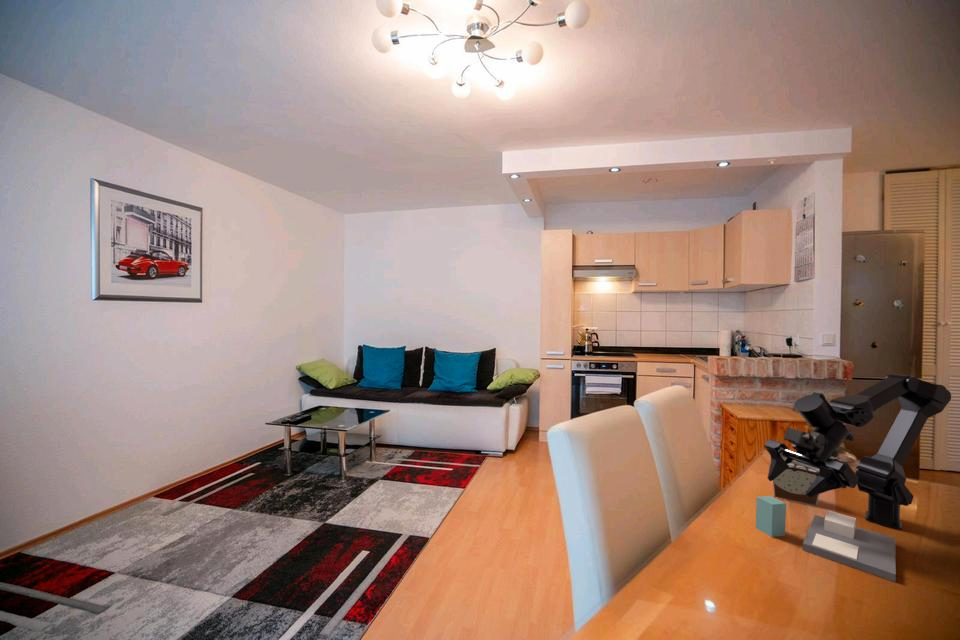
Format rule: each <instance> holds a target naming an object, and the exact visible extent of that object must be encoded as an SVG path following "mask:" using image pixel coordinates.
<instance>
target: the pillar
mask: <svg viewBox="0 0 960 640" xmlns="http://www.w3.org/2000/svg"><path fill="white" fill-rule="evenodd" d="M755 510H756V511H755V529H756V530H758V531H760V532H762V533H763V534H765V535H767V536H769V537H770V538H774V537H784V536H786V523H787V522H786V518H787V503H786V502H785V501H784V502H783V501H782V500H781V499H779V498H775V497H774V496H771V495H763V496H756V509H755Z"/></svg>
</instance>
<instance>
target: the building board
mask: <svg viewBox="0 0 960 640" xmlns="http://www.w3.org/2000/svg"><path fill="white" fill-rule="evenodd" d="M813 516H814V517H813V519H812V521H811V523H810V525H809V527H808V530H807V533H806V535H805V537H804V540H803V542H802V551H805V552H806V553H807V552H808V553H810V554H813V555H815V556H818V557H821V558H823V559H824V558H825V559H827V560H831V561H834V562H837V563H840V564H842V565H844V566H848V567H850V568H854V569H856V570H859V571H862V572H865V573H867V574H870V575H873V576H877V577H879V578H882V579H886V580H887V581H891V582H894V583H896V579H897V577H896V574H897V573H896V571H897V570H896V569H897V567H896V566H897V565H896V537H893V536H890V535H886V534H883V533H879V532H875V531H873V530H868V529H867V528H866V529H865V528H861V527H858V526H856V524H857V523H856V521H857V519H856V517H854V516H849V515H846V514H842V513H839V512H835V511H831V510H829V509H827V511H826V515H825V517H824V516H820V515H817V514H814V515H813Z"/></svg>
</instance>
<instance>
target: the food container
mask: <svg viewBox="0 0 960 640" xmlns="http://www.w3.org/2000/svg"><path fill="white" fill-rule="evenodd" d="M770 464H771V462H770ZM770 464H769V465H770ZM788 466H789V467H788V468H787V469H786V470H785V471H784V472H782V473H781V474H780V475H779V476H778V477H777V478H775V479H774V480H772V484H773V498H775V497H778V498H777V499H779V498H782V499H781V500H784V499H786V500H785V501H788V500H790V501H789V502H793V501H795V502H794V503H797V502H800V503H799V504H802V503H804V504H803V505H807V504H808V505H807V506H811V505H812V506H811V507H816V508H817V507H818V504H819V503H818V502H819V497H820V494H818V495H815V496H812V497H807V496H806V492H807V490H808V488H809V487H810V486H811V484H812V483H813V482H814V480H815V479H816V478H817V476H818V475H819V470H820V469H818V468H815V467H812V466H809V465H806V464H803V463H800V462H797V461H794V460H793V461H792V462H791V463H790V464H788ZM769 469H770V466H769ZM769 469H768V470H769Z"/></svg>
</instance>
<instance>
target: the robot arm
mask: <svg viewBox="0 0 960 640" xmlns="http://www.w3.org/2000/svg"><path fill="white" fill-rule="evenodd" d="M896 399H898V401H899V404H900V411H899V412H898V414H897V416H896V418H895V419H894V422H893V423H892V425H891V427H890V429H889V431H888V433H887V435H886V436H885V438H884V440H883V442H882V444H881V446H879V449H878V451H877V453H876V454H874V455H872V456H869V455H863V456H862V457H861V459H860V461H859V463H858V465H856V467H855V469H856V470H855V471H854V470H853V469H852V468H851V466H850V464H849V463H848V462H844V461H841V460H838V459H835V458H837V457H838V456H839V453H838V452H837V450H838V449H839V448H840V446H841V445H842V443H843V442H844V441H850V442H853V441H854V436H853V435H854V434H852V429H850V428H848V427H847V426H851V427H855V428H861V427H865V426H866V425H867V424H868V423H869V422H871V421H872V420H873V419H874V418H875V412H876V411H877V410H878V409H881V408H882V407H885V406H886V405H887V404H889V403H891V402H892V401H894V400H896ZM951 399H952V393H951V391H949V389H947V387H946V386H945V385H943V384H935V383H931V382H929V381H925V380H923V379H919V378H917V377H915V376H912V375H907V374H900V373H898V374H897V373H891V374H887V375H886V376H885V377H884V378H883V379H882V380H880V381H878V382H877V383H874V384H873V385H871V386H868V387H867V388H865V389H864V390H862V391H860V392H857V394H853V395H846V396H843V395H842V396H840V397H837V398H834V399H831V400H830V401H828V400H827V399H826V396H825V395H824V394H823V393H820V392H815V391H814V392H813V393H812V394H809V395H804V396H801V398H798V399H796V401H795V403H794V408H795V410H796V411H797V412H798V413H799V414H800V415H801V417H802V418H803V419H804V421H805V422H806V424H807V425H809V426H810V427H813V430H812V431H811V432H810V433H808V432H806V431H803V430H799V429H795V428H792V427H787V429H786V431H785V434H784V437H783V440H784V441H787V442H788V443H791V448H792V449H793V450H795V451H796V452H794V451H791V450H790V449H789V447H788V446H787V445H786V443H783V442H781V441H778V440H774V439H768V440H767V441H766V442H765V443H764V445H763V447H764V449H765V450H766V452H767V453H768V454H769V456H770V463H771V464H769V467H770V469H768V474H767V479H768V481H769V482H773V480H774V479H775V478H777V477H778V476H779V475H780V474H781V473H782V472H784V471H785V470H786V469H787V468H788V467H789V466H788V464H790V463H791V462H792V461H797V462H800V463H803V464H806V465H809V466H812V467H815V468H818V469H820V470H819V475H818V476H817V478H816V479H815V480H814V482H813V483H812V484H811V486H810V487H809V488H808V490H807V492H806V496H807V497H812V496H815V495H818V494H819V495H820V494H823V493H827V492H829V491H833V490H838V489H847V487H848V488H850V489H855V488H856V487H857V489H858V491H859V492H863V493H865V494H868V495H867V497H868V498H867V499H868V500H867V510H866V511H865V517H864V519H865V520H866V521H868V522H873V523H876V524H879V525H883V526H886V527H891V528H894V529H897V530H900V531H901V530H903V521H902V519H900V517H901V515H900V514H901V506H904V507H909V505H912V503H913V500H914V495H913V493H912V492H911V491H910V489H909V488H908V487H907V486H906V485H905V484H906V482H907V477H906V473H905V470H904V468H903V466H904V464H905V462H906V460H907V458H908V456H909V455H910V453H911V451H912V449H913V447H914V445H915V444H916V442H917V440H918V437H919V436H920V434H921V432H922V431H923V429H924V427H925V424H926V423H927V421H928V419H929V418H931V417H934V416H935V415H938V414H940V413H942V412H943V411H944V409H945V408H946V407H947V406H948V404H949V403H951ZM846 425H847V426H846Z"/></svg>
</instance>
